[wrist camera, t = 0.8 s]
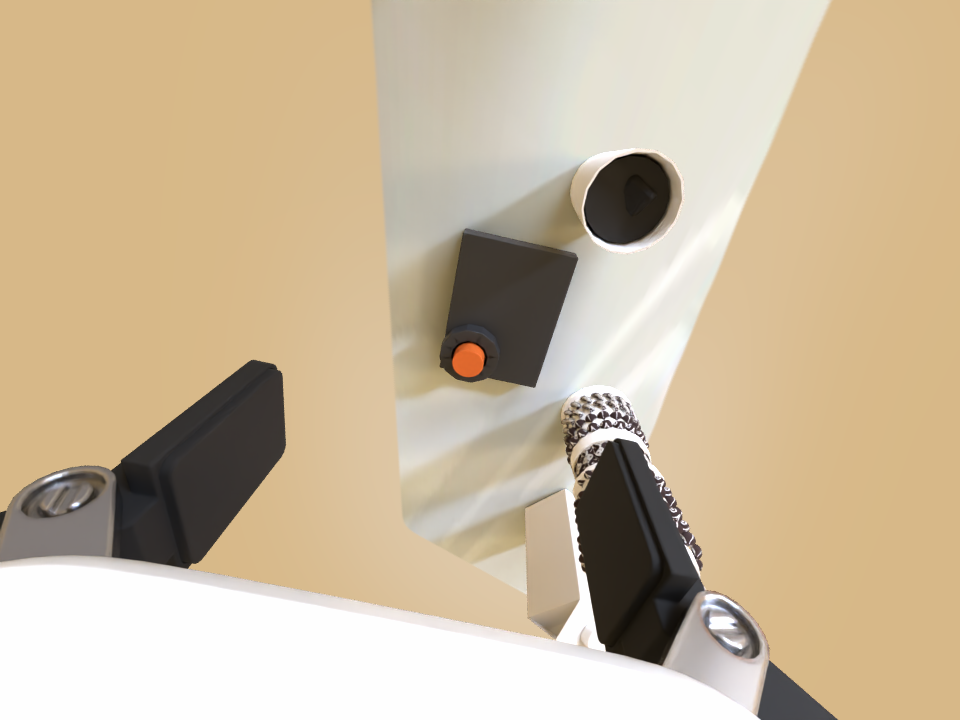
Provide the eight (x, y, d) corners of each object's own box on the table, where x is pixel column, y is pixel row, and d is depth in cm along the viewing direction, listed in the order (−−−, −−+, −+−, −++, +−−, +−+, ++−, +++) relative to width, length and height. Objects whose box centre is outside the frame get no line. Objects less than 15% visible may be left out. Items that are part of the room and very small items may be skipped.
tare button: (457, 339, 40) (454, 347, 38) (487, 346, 40) (486, 354, 38) (452, 365, 41) (449, 373, 40) (481, 371, 41) (480, 380, 40)
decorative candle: (574, 373, 44) (630, 597, 22) (649, 394, 45) (775, 632, 23) (546, 431, 49) (571, 664, 27) (614, 450, 49) (693, 693, 27)
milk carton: (553, 533, 58) (567, 687, 42) (524, 507, 56) (527, 659, 39) (593, 515, 55) (626, 672, 39) (565, 487, 53) (587, 641, 37)
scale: (465, 228, 37) (460, 235, 34) (575, 253, 37) (581, 263, 34) (441, 359, 45) (436, 375, 41) (534, 379, 45) (535, 396, 42)
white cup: (605, 127, 32) (639, 122, 23) (657, 183, 34) (706, 197, 25) (549, 194, 35) (560, 211, 26) (599, 242, 37) (626, 273, 28)
